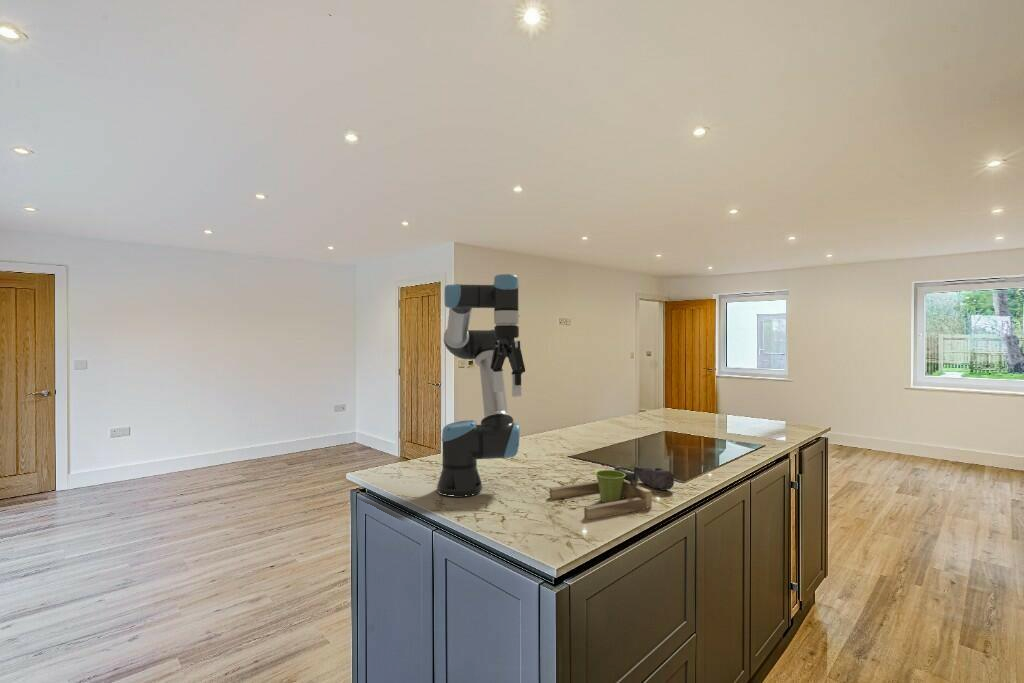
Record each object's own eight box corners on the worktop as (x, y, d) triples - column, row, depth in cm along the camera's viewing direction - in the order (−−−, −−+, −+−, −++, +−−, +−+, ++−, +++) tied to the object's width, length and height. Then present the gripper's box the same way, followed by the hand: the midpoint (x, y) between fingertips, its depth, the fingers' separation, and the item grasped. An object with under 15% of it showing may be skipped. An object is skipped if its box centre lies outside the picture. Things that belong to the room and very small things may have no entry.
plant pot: (607, 494, 161) (606, 468, 161) (631, 501, 154) (631, 473, 154) (589, 500, 155) (589, 473, 155) (614, 508, 148) (614, 479, 148)
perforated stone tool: (633, 482, 174) (633, 463, 174) (644, 480, 177) (644, 461, 177) (663, 494, 161) (663, 473, 161) (675, 491, 164) (675, 471, 163)
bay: (550, 497, 158) (549, 462, 158) (608, 487, 168) (608, 454, 168) (588, 519, 138) (588, 479, 138) (652, 507, 148) (652, 469, 148)
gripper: (536, 323, 140) (537, 397, 140) (501, 326, 162) (501, 389, 162) (512, 323, 137) (513, 399, 137) (480, 326, 159) (480, 391, 159)
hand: (507, 394), depth 150 cm, fingers open, 13 cm apart
